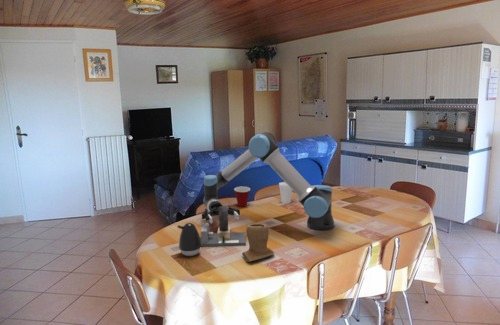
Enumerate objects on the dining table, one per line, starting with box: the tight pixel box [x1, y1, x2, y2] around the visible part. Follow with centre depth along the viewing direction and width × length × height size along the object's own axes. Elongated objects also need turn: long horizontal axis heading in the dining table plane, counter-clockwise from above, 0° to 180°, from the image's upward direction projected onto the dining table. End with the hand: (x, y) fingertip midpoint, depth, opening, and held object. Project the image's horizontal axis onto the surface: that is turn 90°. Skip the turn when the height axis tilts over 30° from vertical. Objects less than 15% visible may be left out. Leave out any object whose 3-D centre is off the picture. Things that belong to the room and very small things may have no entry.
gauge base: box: [200, 222, 247, 248], centre depth 191 cm, size 22×14×8 cm, turn 91°
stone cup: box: [241, 223, 275, 263], centre depth 171 cm, size 15×12×15 cm
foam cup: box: [278, 181, 293, 204], centre depth 256 cm, size 10×9×13 cm
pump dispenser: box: [177, 222, 201, 257], centre depth 175 cm, size 10×10×15 cm
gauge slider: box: [217, 205, 231, 243], centre depth 188 cm, size 6×12×16 cm, turn 1°
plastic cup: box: [233, 186, 251, 208], centre depth 249 cm, size 11×11×12 cm
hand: (225, 219), depth 186 cm, fingers open, 13 cm apart
